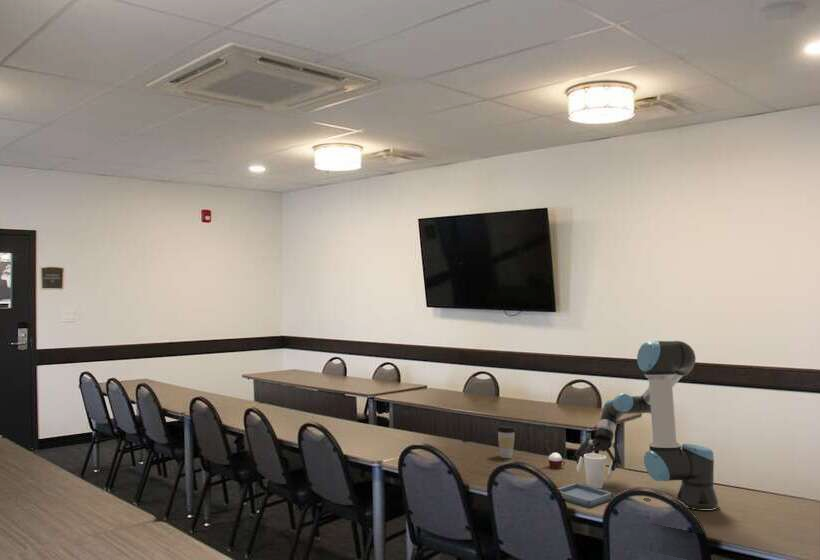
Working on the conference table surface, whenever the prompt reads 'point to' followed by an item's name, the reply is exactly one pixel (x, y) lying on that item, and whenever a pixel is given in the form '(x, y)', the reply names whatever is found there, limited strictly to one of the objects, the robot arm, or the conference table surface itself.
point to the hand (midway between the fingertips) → (593, 473)
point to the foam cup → (594, 469)
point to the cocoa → (554, 458)
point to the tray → (585, 495)
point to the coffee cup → (506, 440)
